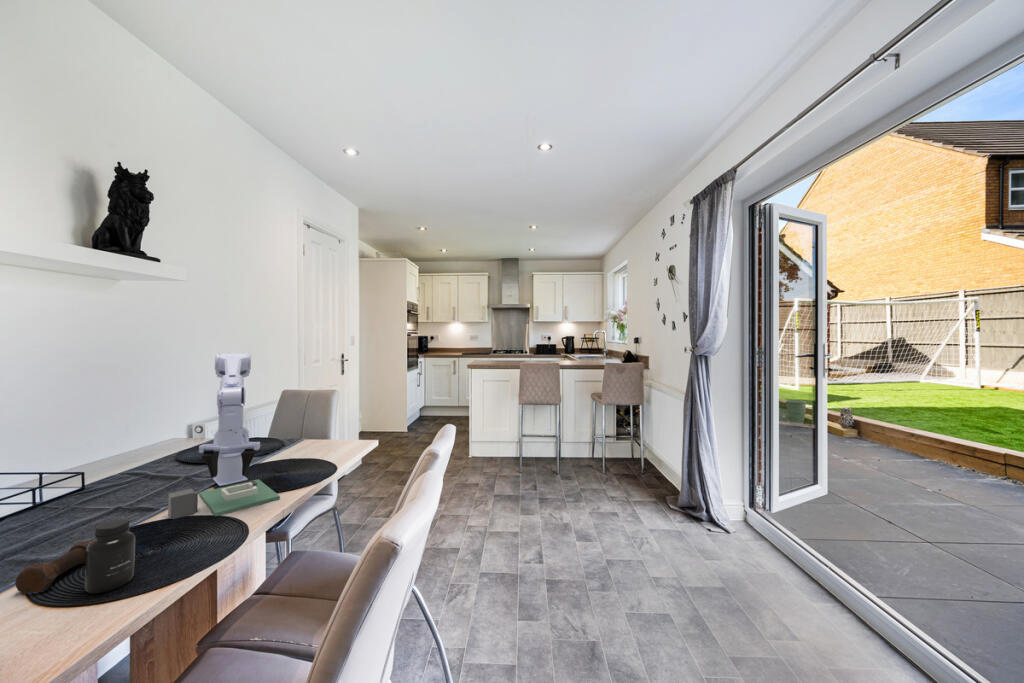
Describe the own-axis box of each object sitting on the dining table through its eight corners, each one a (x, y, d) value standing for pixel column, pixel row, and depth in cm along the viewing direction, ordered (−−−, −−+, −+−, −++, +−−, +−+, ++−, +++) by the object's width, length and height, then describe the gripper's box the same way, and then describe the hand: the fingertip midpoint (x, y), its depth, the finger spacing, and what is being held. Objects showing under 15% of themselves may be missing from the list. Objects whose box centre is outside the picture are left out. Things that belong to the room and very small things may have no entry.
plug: (168, 515, 106) (168, 493, 106) (195, 508, 110) (195, 487, 110) (170, 519, 103) (171, 497, 103) (198, 512, 108) (198, 491, 108)
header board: (199, 495, 119) (199, 486, 119) (258, 482, 131) (258, 473, 131) (215, 516, 106) (215, 506, 106) (279, 499, 118) (279, 490, 118)
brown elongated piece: (104, 559, 88) (34, 601, 73) (82, 549, 87) (7, 590, 72) (119, 536, 89) (53, 573, 74) (98, 526, 88) (27, 561, 73)
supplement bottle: (119, 591, 74) (121, 530, 74) (74, 597, 72) (76, 534, 72) (142, 571, 81) (143, 514, 81) (101, 575, 79) (102, 518, 79)
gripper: (193, 433, 105) (192, 482, 105) (254, 431, 109) (253, 478, 109) (206, 427, 111) (205, 473, 112) (263, 425, 115) (262, 470, 116)
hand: (229, 475), depth 111 cm, fingers open, 7 cm apart
